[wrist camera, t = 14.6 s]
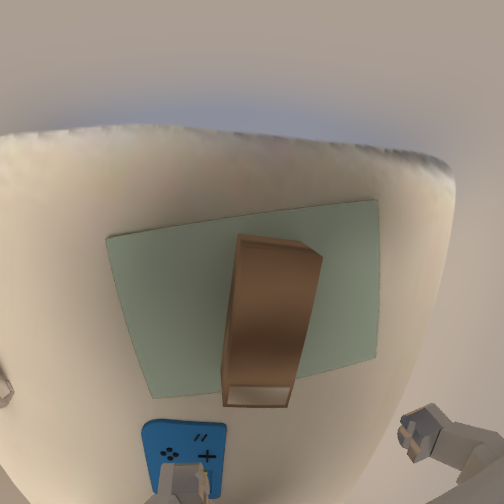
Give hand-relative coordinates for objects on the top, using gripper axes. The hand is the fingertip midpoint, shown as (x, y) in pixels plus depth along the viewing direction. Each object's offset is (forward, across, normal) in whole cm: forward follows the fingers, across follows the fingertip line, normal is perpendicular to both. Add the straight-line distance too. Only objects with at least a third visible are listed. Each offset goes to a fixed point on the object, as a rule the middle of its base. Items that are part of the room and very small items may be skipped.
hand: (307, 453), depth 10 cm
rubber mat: (+14, 0, -1) cm, 14 cm away
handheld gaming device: (+15, +10, +17) cm, 25 cm away
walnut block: (+13, 0, -1) cm, 13 cm away
